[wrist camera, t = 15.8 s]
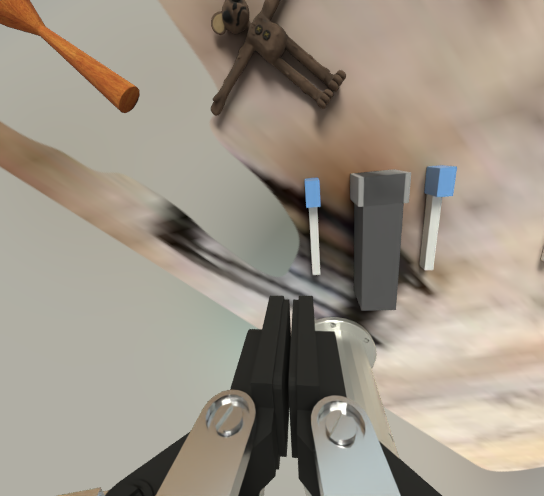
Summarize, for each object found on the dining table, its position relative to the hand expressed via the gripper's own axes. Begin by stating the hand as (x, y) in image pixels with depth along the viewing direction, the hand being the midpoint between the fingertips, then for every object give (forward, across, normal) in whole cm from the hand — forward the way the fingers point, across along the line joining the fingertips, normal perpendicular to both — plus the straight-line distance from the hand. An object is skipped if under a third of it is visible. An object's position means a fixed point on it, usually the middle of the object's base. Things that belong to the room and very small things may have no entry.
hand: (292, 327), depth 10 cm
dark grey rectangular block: (+24, -9, +4) cm, 26 cm away
